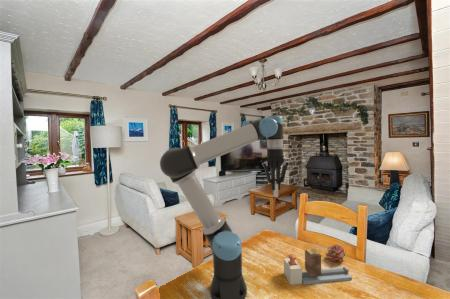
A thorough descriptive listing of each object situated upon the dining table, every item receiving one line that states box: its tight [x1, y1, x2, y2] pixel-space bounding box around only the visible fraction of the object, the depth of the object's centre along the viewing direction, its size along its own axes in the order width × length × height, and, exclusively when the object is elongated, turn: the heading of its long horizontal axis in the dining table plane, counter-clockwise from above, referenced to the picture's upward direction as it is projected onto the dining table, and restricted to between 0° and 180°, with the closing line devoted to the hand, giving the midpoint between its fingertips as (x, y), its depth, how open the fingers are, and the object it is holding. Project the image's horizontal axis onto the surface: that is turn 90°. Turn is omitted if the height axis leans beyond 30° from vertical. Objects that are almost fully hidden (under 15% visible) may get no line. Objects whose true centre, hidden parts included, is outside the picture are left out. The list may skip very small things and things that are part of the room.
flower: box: [325, 243, 347, 262], centre depth 108 cm, size 10×9×8 cm
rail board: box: [302, 266, 353, 285], centre depth 96 cm, size 22×7×3 cm, turn 95°
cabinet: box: [283, 257, 303, 286], centre depth 96 cm, size 5×8×7 cm, turn 5°
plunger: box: [288, 253, 297, 266], centre depth 96 cm, size 3×3×6 cm
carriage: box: [304, 248, 322, 276], centre depth 95 cm, size 5×5×10 cm
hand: (275, 196), depth 104 cm, fingers closed
